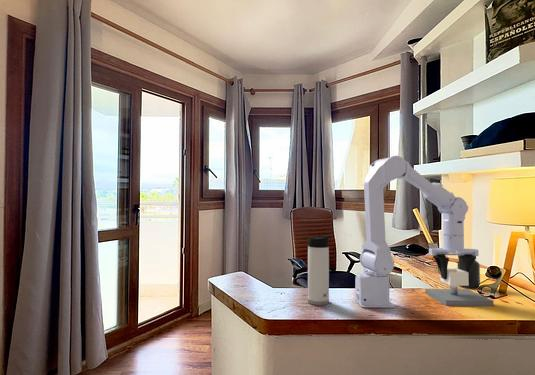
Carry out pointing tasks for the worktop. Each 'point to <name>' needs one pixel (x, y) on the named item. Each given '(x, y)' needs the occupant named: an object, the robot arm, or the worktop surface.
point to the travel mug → (318, 270)
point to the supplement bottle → (473, 275)
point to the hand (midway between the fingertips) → (453, 278)
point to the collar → (456, 277)
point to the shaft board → (458, 297)
